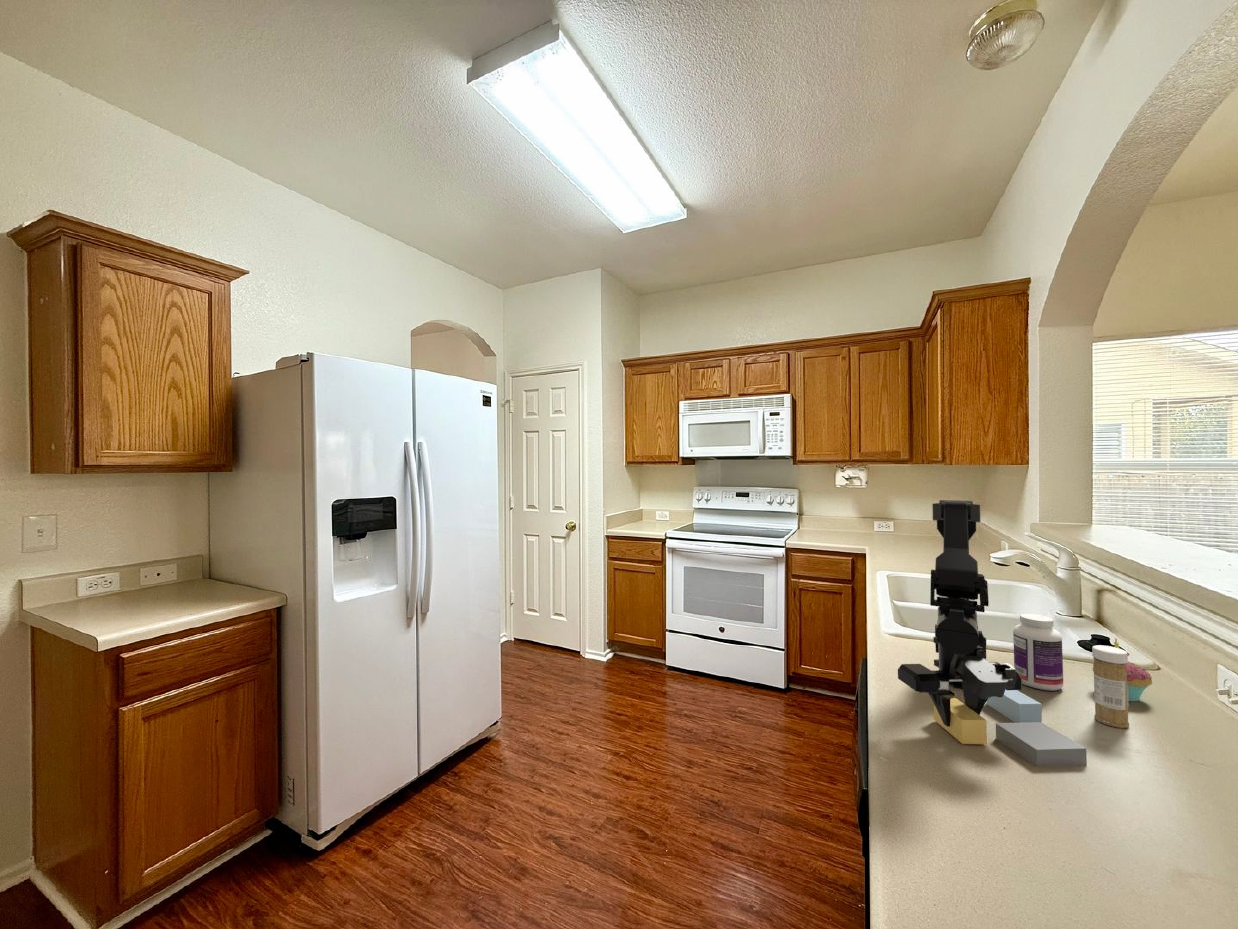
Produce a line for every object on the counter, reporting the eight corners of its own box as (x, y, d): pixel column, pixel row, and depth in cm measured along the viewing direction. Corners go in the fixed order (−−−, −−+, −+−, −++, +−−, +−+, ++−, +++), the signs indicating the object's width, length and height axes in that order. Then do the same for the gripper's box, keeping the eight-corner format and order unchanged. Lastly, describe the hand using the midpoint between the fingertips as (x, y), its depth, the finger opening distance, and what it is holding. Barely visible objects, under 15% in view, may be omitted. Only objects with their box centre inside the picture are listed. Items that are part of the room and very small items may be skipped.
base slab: (996, 740, 84) (995, 723, 84) (1040, 739, 84) (1040, 722, 84) (1037, 769, 76) (1036, 749, 76) (1086, 767, 76) (1086, 748, 77)
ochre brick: (934, 719, 90) (933, 697, 90) (956, 720, 90) (955, 698, 90) (962, 743, 82) (961, 720, 82) (986, 744, 82) (986, 720, 82)
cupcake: (1142, 709, 94) (1141, 647, 94) (1084, 692, 101) (1083, 634, 101) (1159, 699, 98) (1157, 639, 98) (1102, 683, 105) (1101, 627, 105)
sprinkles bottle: (1132, 724, 88) (1130, 649, 89) (1125, 732, 86) (1123, 655, 86) (1097, 714, 92) (1096, 642, 92) (1090, 721, 90) (1088, 647, 90)
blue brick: (986, 705, 97) (986, 684, 97) (1007, 704, 97) (1006, 684, 97) (1019, 726, 89) (1019, 704, 89) (1041, 726, 89) (1041, 703, 89)
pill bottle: (1068, 686, 104) (1067, 618, 104) (1056, 696, 99) (1055, 625, 100) (1021, 673, 111) (1020, 609, 111) (1008, 682, 106) (1006, 616, 106)
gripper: (937, 654, 78) (938, 753, 78) (1050, 652, 79) (1052, 750, 78) (895, 631, 89) (896, 717, 89) (994, 629, 90) (996, 715, 89)
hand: (959, 725), depth 86 cm, fingers closed on ochre brick, 4 cm apart
